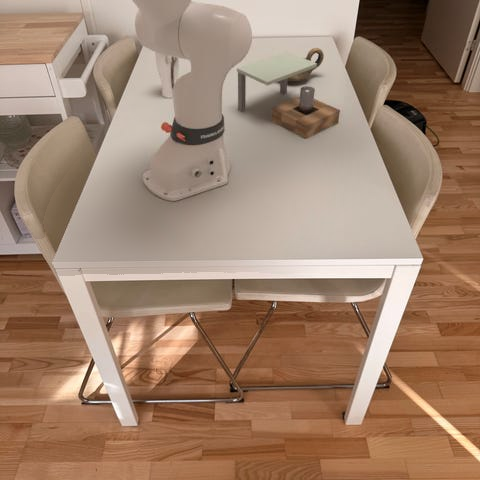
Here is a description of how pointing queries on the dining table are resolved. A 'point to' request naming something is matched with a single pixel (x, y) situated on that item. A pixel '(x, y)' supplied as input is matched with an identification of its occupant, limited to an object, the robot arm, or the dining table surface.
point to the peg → (306, 100)
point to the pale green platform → (271, 73)
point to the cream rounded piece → (167, 73)
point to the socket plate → (305, 117)
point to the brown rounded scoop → (307, 73)
